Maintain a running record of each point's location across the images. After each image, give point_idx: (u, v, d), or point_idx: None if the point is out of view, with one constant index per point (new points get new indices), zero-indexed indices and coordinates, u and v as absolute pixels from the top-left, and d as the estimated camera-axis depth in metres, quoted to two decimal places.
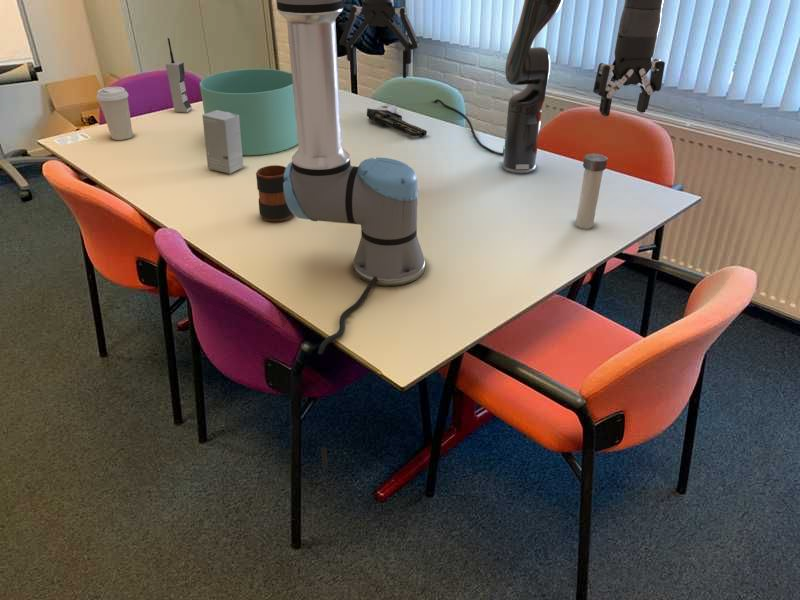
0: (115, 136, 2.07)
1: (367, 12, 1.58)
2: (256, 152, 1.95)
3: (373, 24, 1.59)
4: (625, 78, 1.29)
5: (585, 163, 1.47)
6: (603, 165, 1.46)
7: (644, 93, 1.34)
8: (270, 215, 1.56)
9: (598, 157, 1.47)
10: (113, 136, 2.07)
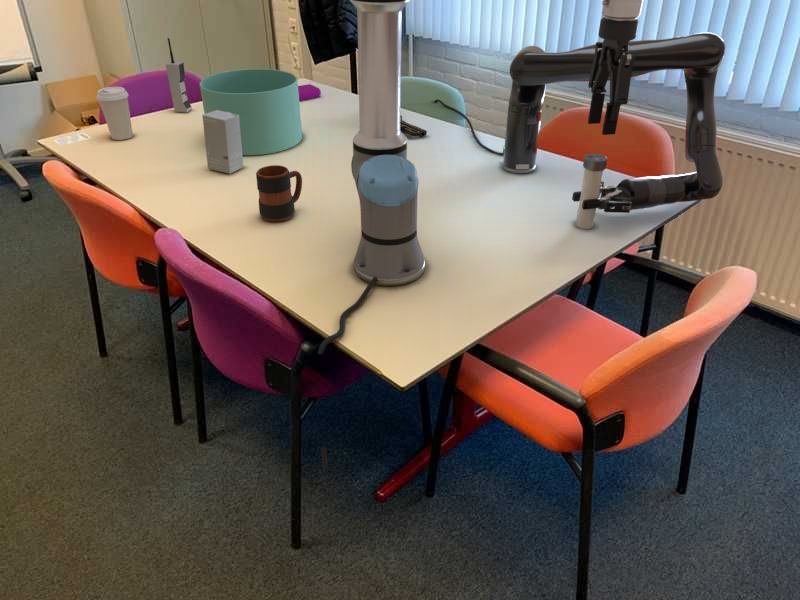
0: (115, 136, 2.07)
1: None
2: (256, 152, 1.95)
3: None
4: None
5: (585, 163, 1.47)
6: (603, 165, 1.46)
7: None
8: (270, 215, 1.56)
9: (598, 157, 1.47)
10: (113, 136, 2.07)
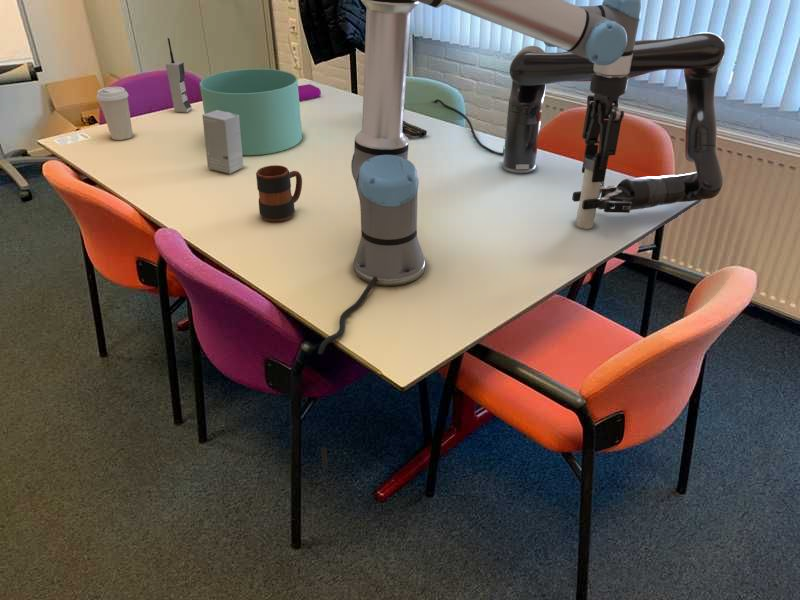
0: (115, 136, 2.07)
1: None
2: (256, 152, 1.95)
3: None
4: None
5: (585, 163, 1.47)
6: None
7: None
8: (270, 215, 1.56)
9: None
10: (113, 136, 2.07)
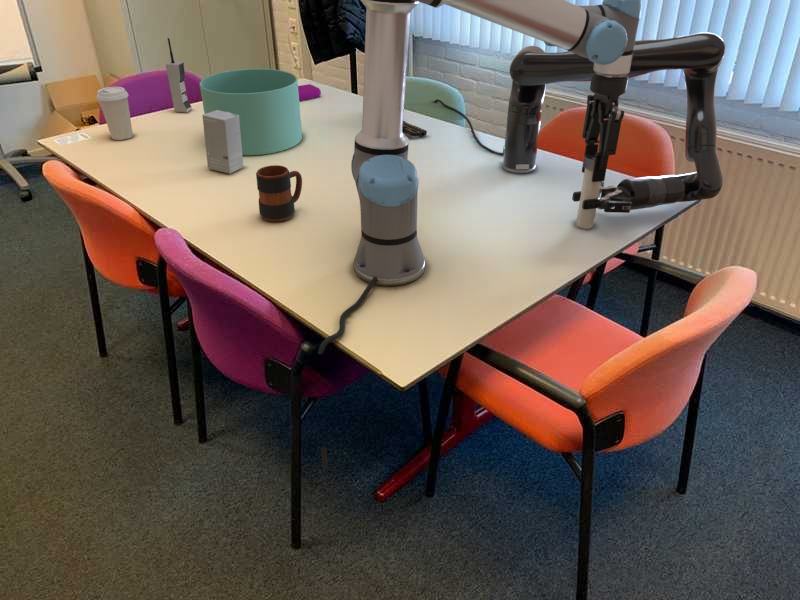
0: (115, 136, 2.07)
1: None
2: (256, 152, 1.95)
3: None
4: None
5: None
6: None
7: None
8: (270, 215, 1.56)
9: None
10: (113, 136, 2.07)
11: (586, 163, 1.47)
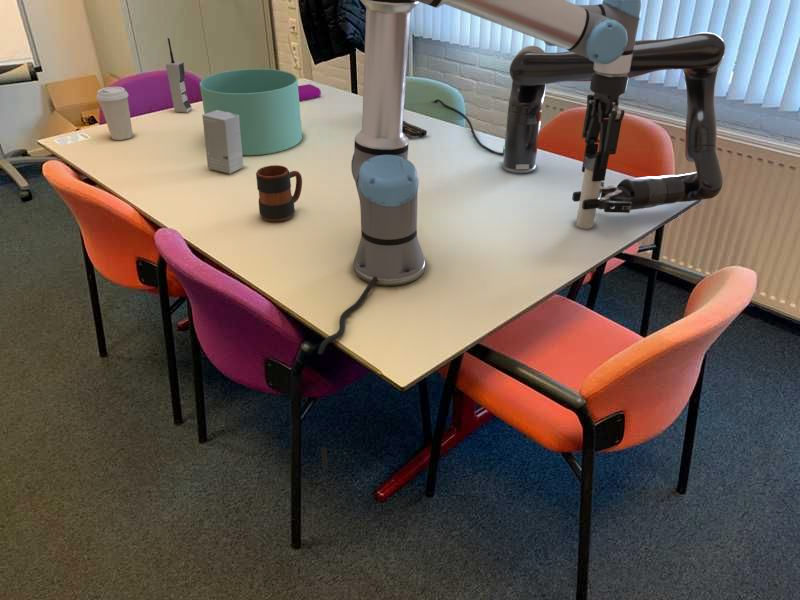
0: (115, 136, 2.07)
1: None
2: (256, 152, 1.95)
3: None
4: None
5: None
6: None
7: None
8: (270, 215, 1.56)
9: (593, 156, 1.47)
10: (113, 136, 2.07)
11: None
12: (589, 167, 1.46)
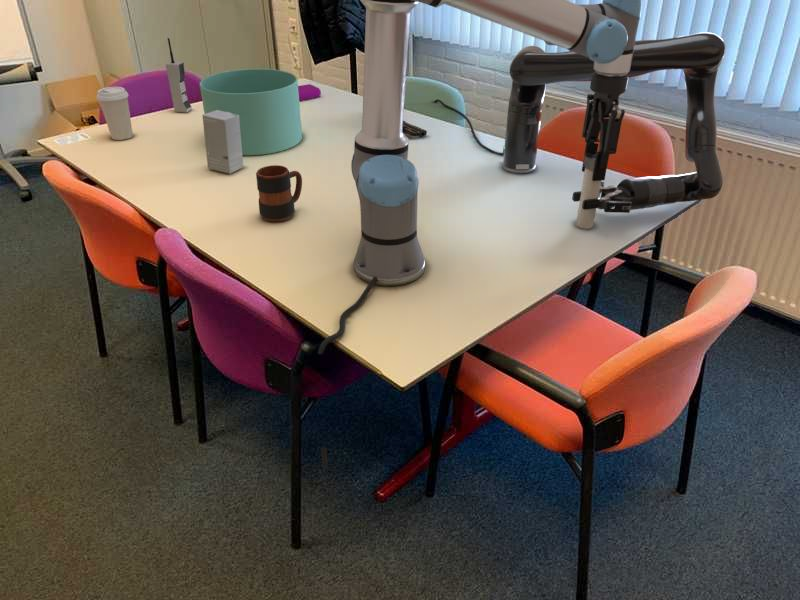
0: (115, 136, 2.07)
1: None
2: (256, 152, 1.95)
3: None
4: None
5: None
6: (589, 163, 1.46)
7: None
8: (270, 215, 1.56)
9: None
10: (113, 136, 2.07)
11: None
12: None
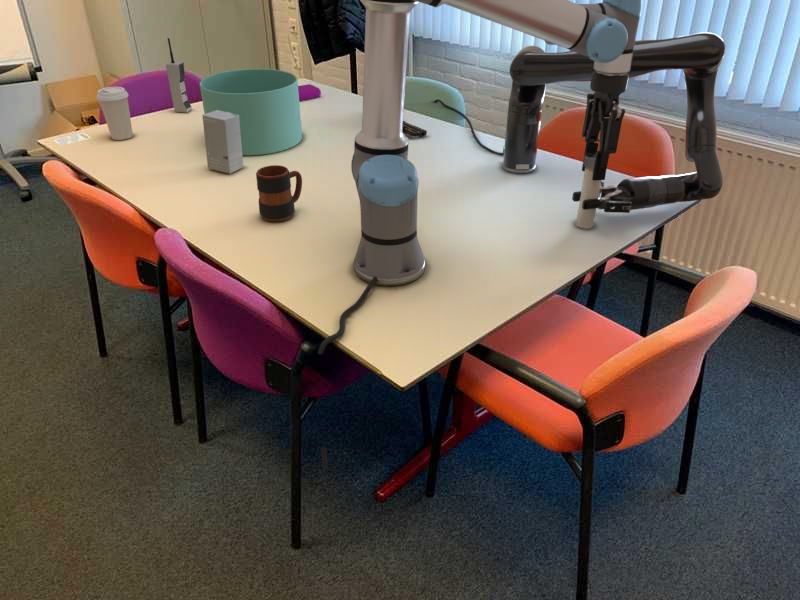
0: (115, 136, 2.07)
1: None
2: (256, 152, 1.95)
3: None
4: None
5: (587, 162, 1.46)
6: None
7: None
8: (270, 215, 1.56)
9: None
10: (113, 136, 2.07)
11: None
12: None
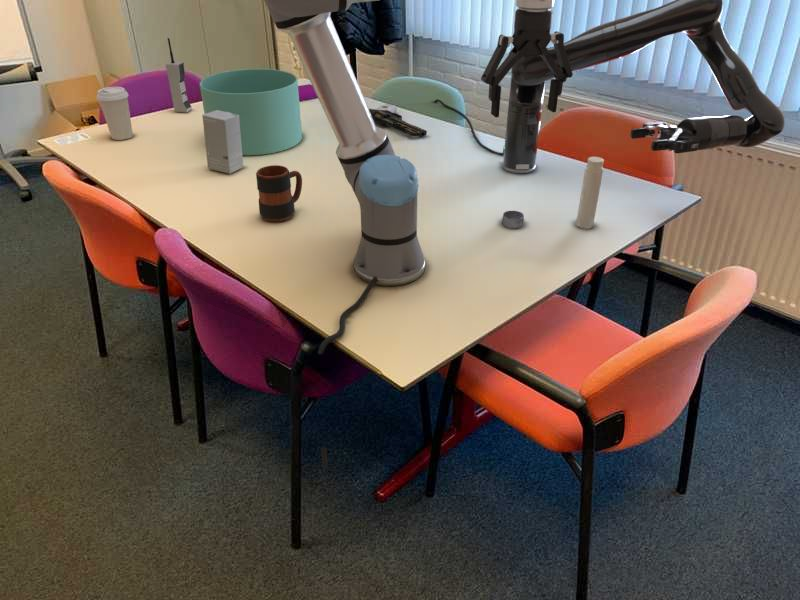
0: (115, 136, 2.07)
1: None
2: (256, 152, 1.95)
3: None
4: None
5: None
6: None
7: (646, 133, 1.52)
8: (270, 215, 1.56)
9: (511, 215, 1.56)
10: (113, 136, 2.07)
11: (521, 222, 1.55)
12: (509, 226, 1.55)
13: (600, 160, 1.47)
